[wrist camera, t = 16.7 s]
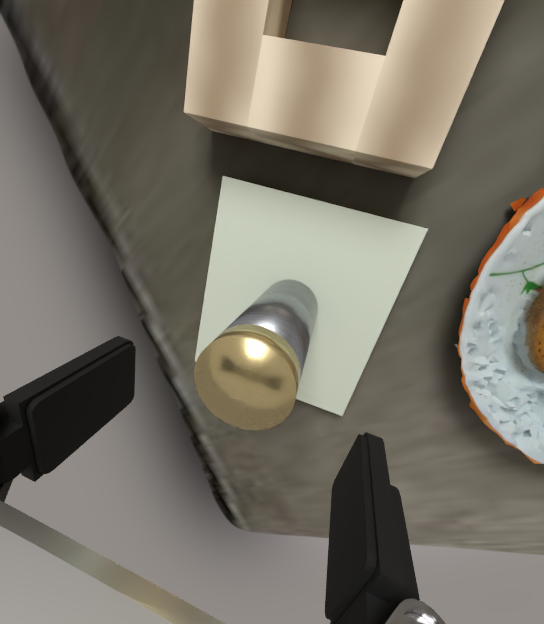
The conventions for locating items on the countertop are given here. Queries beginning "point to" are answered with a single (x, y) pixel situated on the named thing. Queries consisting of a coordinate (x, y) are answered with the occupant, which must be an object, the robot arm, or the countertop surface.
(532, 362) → the food on plate
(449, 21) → the block
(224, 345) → the silver and gold cylinder
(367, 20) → the countertop surface
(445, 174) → the countertop surface
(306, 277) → the mat
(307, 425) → the countertop surface
